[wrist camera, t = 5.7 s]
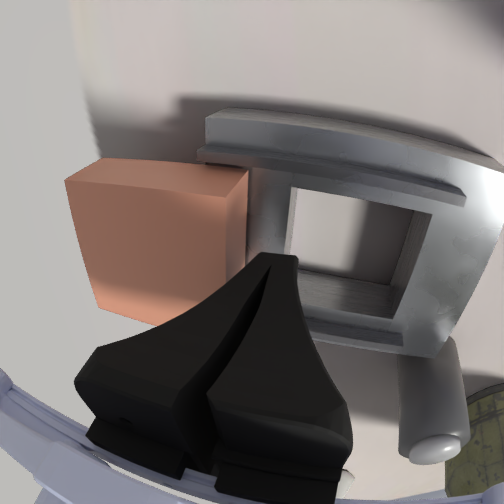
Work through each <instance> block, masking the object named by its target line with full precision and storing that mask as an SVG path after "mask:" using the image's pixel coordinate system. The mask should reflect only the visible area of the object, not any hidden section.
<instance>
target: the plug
mask: <svg viewBox="0 0 504 504" xmlns="http://www.w3.org/2000/svg"><path fill="white" fill-rule="evenodd" d="M397 362H398V385H399V447H398V451H399V454H400V455H402V456H403V457H406V458H409V461H410V462H411V463H413V464H418V465H429V464H436V463H440V462H443V461H446V460H449V459H451V458H453V457H455V456H456V455H457V454H458V453H459V452H460V450H461V448H462V447H463V446H464V445H466V444H467V443H468V441H469V440H470V438H471V434H470V425H469V416H468V409H467V402H466V395H465V389H464V383H463V378H462V372H461V367H460V362H459V357H458V352H457V348H456V344H455V341H454V340H453V339H452V338H451V337H450V336H449V337H448V338H447V340H446V341H445V343H444V345H443V346H442V348H441V349H440V351H439V353H438V354H437V356H436V357H435V359H434V358H425V357H417V356H409V355H402V354H398V356H397Z"/></svg>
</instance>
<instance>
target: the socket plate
mask: <svg viewBox="0 0 504 504" xmlns="http://www.w3.org/2000/svg"><path fill="white" fill-rule="evenodd" d="M197 161H201V162H205V165H211V166H220V167H229V168H238V169H246V170H248V193H247V219H246V245H245V266H246V265H247V264H248V263H249V262H250V261H251V260H252V259H253V258H254V257H255V256H256V255H257V254H259V253H260V252H268V253H277V254H286V255H289V254H290V246H291V238H292V230H293V222H294V214H295V205H296V196H297V188H301V189H307V190H313V191H319V192H325V193H330V194H336V195H342V196H347V197H353V198H358V199H363V200H368V201H373V202H378V203H383V204H388V205H393V206H398V207H402V208H407V209H412V210H414V212H413V215H412V219H411V222H410V225H409V229H408V232H407V235H406V238H405V242H404V245H403V248H402V251H401V254H400V257H399V260H398V263H397V266H396V269H395V271H394V274H393V277H392V280H391V283H390V285H383V284H378V283H372V282H366V281H361V280H355V279H350V278H344V277H339V276H333V275H328V274H322V273H317V272H311V271H306V270H301V269H298V279H297V284H298V290H299V296H300V301H301V306H302V309H303V313H304V317H305V320H306V323H307V326H308V329H309V332H310V335H311V337H312V340H314V341H319V342H325V343H331V344H336V345H342V346H348V347H354V348H361V349H367V350H374V351H380V352H387V353H394V354H402V355H409V356H417V357H425V358H434V359H435V357H436V356H437V354H438V353H439V351H440V349H441V348H442V346H443V345H444V343H445V341H446V340H447V338H448V337H449V335H450V333H451V332H452V330H453V328H454V326H455V325H456V323H457V321H458V320H459V318H460V316H461V314H462V312H463V311H464V309H465V307H466V305H467V303H468V301H469V299H470V298H471V296H472V294H473V292H474V290H475V288H476V286H477V284H478V282H479V280H480V278H481V276H482V274H483V271H484V269H485V267H486V265H487V263H488V261H489V258H490V256H491V254H492V252H493V249H494V247H495V245H496V242H497V240H498V237H499V235H500V232H501V230H502V227H503V225H504V166H503V165H502V164H500V163H499V162H498V161H497V160H495V159H493V158H490V157H487V156H485V155H482V154H479V153H475V152H472V151H469V150H466V149H463V148H460V147H456V146H453V145H449V144H446V143H442V142H439V141H435V140H431V139H428V138H424V137H420V136H416V135H412V134H408V133H404V132H399V131H395V130H390V129H386V128H381V127H376V126H371V125H366V124H361V123H356V122H350V121H344V120H338V119H332V118H326V117H319V116H312V115H305V114H297V113H288V112H279V111H269V110H258V109H246V108H231V107H227V108H225V109H223V110H220V111H218V112H216V113H214V114H211V115H209V116H207V117H205V145H204V146H202V147H201V148H199V149H198V150H197Z"/></svg>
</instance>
